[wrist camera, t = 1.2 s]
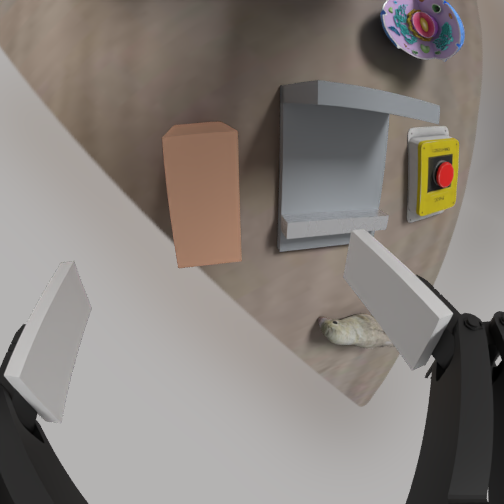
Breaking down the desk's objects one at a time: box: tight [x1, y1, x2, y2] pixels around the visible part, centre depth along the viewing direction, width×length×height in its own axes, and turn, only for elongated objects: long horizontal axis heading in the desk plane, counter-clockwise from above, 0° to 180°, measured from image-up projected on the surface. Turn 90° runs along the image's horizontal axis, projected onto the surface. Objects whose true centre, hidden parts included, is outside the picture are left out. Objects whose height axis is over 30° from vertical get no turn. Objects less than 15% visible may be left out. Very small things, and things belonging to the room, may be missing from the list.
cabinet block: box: [162, 121, 242, 268], centre depth 25 cm, size 11×5×12 cm, turn 1°
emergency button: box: [407, 126, 459, 223], centre depth 34 cm, size 9×4×15 cm
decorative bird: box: [318, 313, 395, 349], centre depth 45 cm, size 5×16×7 cm, turn 74°
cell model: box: [380, 0, 465, 62], centre depth 20 cm, size 10×12×10 cm
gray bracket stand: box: [277, 80, 440, 252], centre depth 29 cm, size 20×14×10 cm
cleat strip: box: [281, 209, 389, 239], centre depth 34 cm, size 2×14×2 cm, turn 91°
